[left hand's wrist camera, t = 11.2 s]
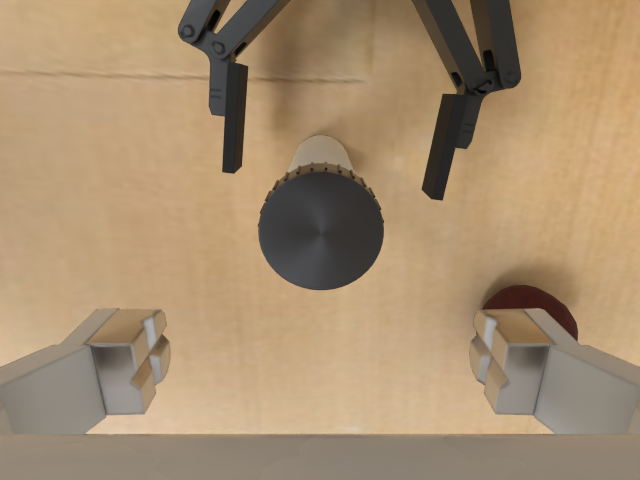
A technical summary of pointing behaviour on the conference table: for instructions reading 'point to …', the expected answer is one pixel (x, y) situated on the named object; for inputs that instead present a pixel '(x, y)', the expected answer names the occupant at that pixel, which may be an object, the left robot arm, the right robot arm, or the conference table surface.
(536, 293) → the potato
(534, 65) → the conference table surface
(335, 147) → the white bottle
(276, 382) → the conference table surface
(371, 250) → the lid
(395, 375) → the conference table surface
